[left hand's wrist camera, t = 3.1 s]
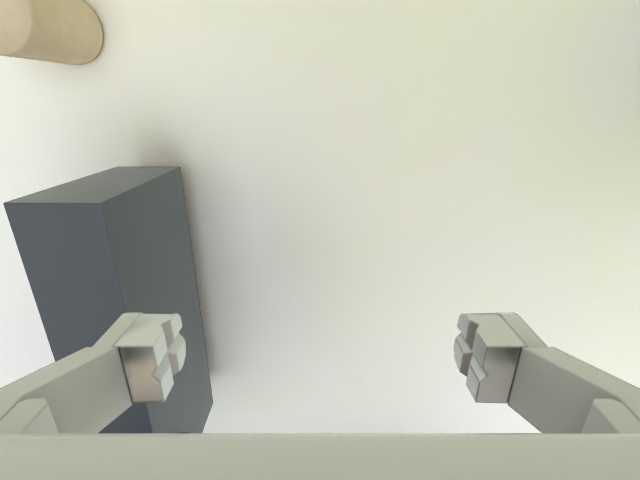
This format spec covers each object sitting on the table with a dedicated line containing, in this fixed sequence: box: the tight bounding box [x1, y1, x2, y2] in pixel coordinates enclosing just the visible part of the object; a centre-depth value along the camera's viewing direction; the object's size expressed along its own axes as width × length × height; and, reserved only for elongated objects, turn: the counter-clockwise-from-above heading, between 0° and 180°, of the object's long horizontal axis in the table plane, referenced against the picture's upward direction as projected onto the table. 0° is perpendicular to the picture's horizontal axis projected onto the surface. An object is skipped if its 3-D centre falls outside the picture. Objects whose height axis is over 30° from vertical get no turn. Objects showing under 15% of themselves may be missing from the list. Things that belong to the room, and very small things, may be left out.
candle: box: [0, 0, 103, 65], centre depth 27 cm, size 6×6×10 cm
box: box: [4, 167, 213, 433], centre depth 32 cm, size 28×6×12 cm, turn 0°
